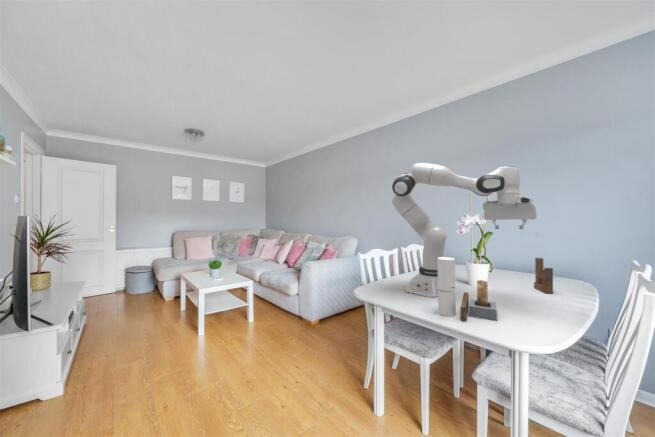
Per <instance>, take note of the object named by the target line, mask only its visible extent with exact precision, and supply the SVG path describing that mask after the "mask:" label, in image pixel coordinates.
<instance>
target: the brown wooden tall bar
mask: <svg viewBox="0 0 655 437" xmlns="http://www.w3.org/2000/svg"><path fill="white" fill-rule="evenodd" d="M488 289H489V288H488V281H485V280H476V300H477V306H483V307H488V301H489V300H488V296H489V295H488V292H489V290H488Z"/></svg>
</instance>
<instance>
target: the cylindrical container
mask: <svg viewBox="0 0 655 437" xmlns="http://www.w3.org/2000/svg"><path fill="white" fill-rule="evenodd" d="M437 265H438V296H437V303H438V304H437V306H438V307H437V308H438V309H437V310H438V311H437V312H438V313H437V314H439V315H441V316H444V317H455V316H456V315H457V308H456V306H457V305H456V303H457V301H456V300H457V299H456V258H453V257H448V256H443V257H439V258H437Z"/></svg>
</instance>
